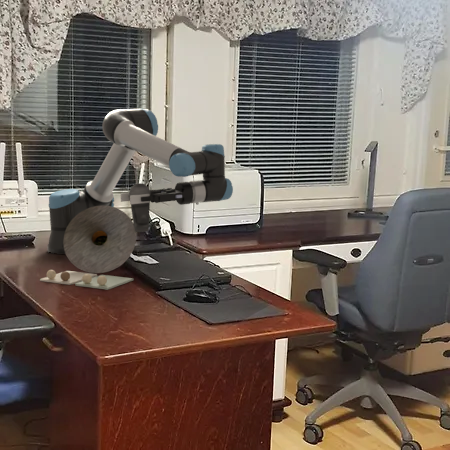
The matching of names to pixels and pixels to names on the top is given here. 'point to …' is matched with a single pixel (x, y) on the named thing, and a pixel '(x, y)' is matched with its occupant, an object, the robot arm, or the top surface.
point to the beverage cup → (140, 207)
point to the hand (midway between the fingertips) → (125, 198)
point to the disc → (99, 239)
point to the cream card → (71, 280)
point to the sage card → (108, 284)
